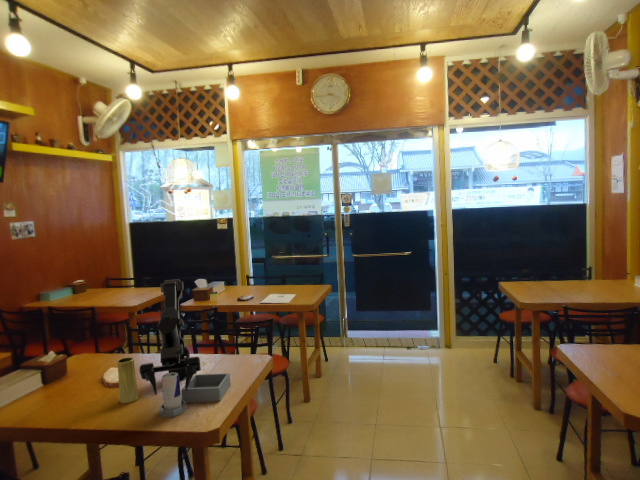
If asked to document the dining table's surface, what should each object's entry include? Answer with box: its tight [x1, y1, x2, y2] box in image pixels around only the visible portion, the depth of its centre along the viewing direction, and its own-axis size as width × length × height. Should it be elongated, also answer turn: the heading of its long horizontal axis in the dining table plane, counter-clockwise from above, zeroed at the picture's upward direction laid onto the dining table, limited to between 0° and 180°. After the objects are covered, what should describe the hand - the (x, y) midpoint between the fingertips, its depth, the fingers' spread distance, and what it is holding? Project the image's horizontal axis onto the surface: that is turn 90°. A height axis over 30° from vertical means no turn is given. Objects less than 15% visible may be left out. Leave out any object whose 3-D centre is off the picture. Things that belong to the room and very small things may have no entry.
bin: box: [180, 372, 232, 403], centre depth 151 cm, size 13×13×4 cm
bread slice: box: [101, 366, 119, 388], centre depth 172 cm, size 18×18×4 cm
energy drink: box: [161, 372, 182, 410], centre depth 138 cm, size 5×5×12 cm
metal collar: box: [158, 398, 188, 418], centre depth 138 cm, size 8×8×2 cm
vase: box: [116, 356, 140, 404], centre depth 149 cm, size 6×6×14 cm
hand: (171, 392), depth 137 cm, fingers open, 9 cm apart
